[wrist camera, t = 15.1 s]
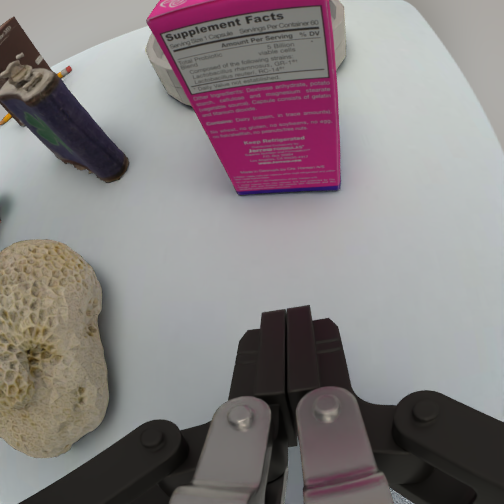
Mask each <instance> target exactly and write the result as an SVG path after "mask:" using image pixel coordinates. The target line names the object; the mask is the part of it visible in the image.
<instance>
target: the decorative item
mask: <svg viewBox="0 0 504 504" xmlns="http://www.w3.org/2000/svg"><path fill="white" fill-rule="evenodd" d="M101 306H102V289H101V286H100V283H99V281H98V280H97V277H96V274H95V272H94V270H93V268H92V267H91V266H90V265H89V264H88V263H87V262H86V261H85V260H84V259H83V258H82V256H80V255H79V254H78V253H76V252H74V251H73V250H72V249H71V248H69V247H68V246H67V245H66V244H63V243H61V242H57V241H53V240H47V239H45V240H39V239H36V240H25V241H20V242H17V243H14V244H12V245H10V246H9V247H7V248H5V249H4V250H2V251H1V252H0V437H1V438H3V439H4V440H5V441H6V442H7V443H8V444H9V445H10V446H12V447H13V448H14V449H16V450H18V451H21V452H23V453H25V454H27V455H28V456H31V457H34V458H52V457H57V456H59V455H60V454H62V453H66V452H67V451H69V450H70V449H71V446H72V444H73V443H75V442H77V441H78V440H79V439H80V438H81V437H82V436H84V435H86V434H87V433H88V432H91V431H93V430H95V429H96V428H97V427H98V426H99V425H100V424H101V422H102V420H103V419H104V417H105V413H106V409H107V406H108V401H109V391H108V382H107V366H106V362H105V358H104V351H103V346H102V343H101V339H100V334H99V329H98V324H97V320H98V315H99V313H100V312H101Z"/></svg>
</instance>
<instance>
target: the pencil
mask: <svg viewBox="0 0 504 504" xmlns="http://www.w3.org/2000/svg"><path fill="white" fill-rule="evenodd" d="M70 71H72V69H71V67H70V66H68V67H67V68H65V69H64V70H62V71H61V72H59V73H58V74H57V75H58V77H59V78H62V77H63V76H65V75H66V74H67V73H69V72H70ZM11 117H12V116H11V115H10V114H9V113H8V114H7V115H6V116H5V117H4V118H3V119H2V121H1V122H0V125H2V124H4V123H5V122H7V121H8V120H9V119H10V118H11Z"/></svg>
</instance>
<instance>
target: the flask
mask: <svg viewBox="0 0 504 504" xmlns="http://www.w3.org/2000/svg"><path fill="white" fill-rule="evenodd" d="M23 56H24V54H23V53H21V54H19V55H17V56H16V59H20V58H21V57H23ZM1 77H2V78H7V77H9V79H8V81H7V82H6V83H5V84H4V85H3V87H2V88H1V89H0V101H1V102H2V103H3V104H4V105H6V107H7V108H8V109H9V110H10V111H11V112H12V113H13V114H14V115H15V116H16V117H17V118H18V119H19V120H20V121H21V122H22V123H24V124H25V125H26V126H27V127H28V128H29V129H30V131H31V132H33V133H34V134H35V135H36V136H37V138H38V139H39V140H40V141H41V142H42V143H43V144H44V145H45V146H46V147H47V148H48V149H49V150H50V151H52V152H53V153H54V154H55V156H56V157H57V158H58V159H60V160H62V161H63V162H64V163H66V164H67V162H68V163H70V164H73V166H74V167H75V168H77V169H80V170H83V169H87V170H88V171H89V174H90V173H94V174H96V176H97V178H100V180H103V181H105V182H106V183H108V182H112V181H115V180H120V177H121V176H122V175H123V174H124V172H125V171H126V170H127V167H128V164H129V161H128V157H126V156H125V154H124V153H123V152H122V151H121V150H120V149H118V147H117V146H116V145H115V144H114V143H113V142H112V141H111V140H110V138H109V137H108V136H107V135H106V134H105V133H104V131H103V130H102V129H101V128H100V127H99V126H98V125H97V123H96V122H95V121H94V120H93V119H92V117H91V116H90V115H89V113H88V112H87V111H86V110H85V109H84V108H83V107H82V105H81V104H80V103H79V102H78V101H77V99H76V98H75V97H74V96H73V94H72V93H71V92H70V91H69V90H68V88H67V87H66V85H65V84H64V83H63V81H62V80H61V79H60V78H59V77H58V75H57V74H56V73H55V72H52V71H50V70H48V69H45V68H34V69H32V67H31V66H29V65H21V64H20V62H19V60H17V61H14V62H12V63H10V64H9V65H8V66H7V68H6V70H5V71H3V72H2V73H1V74H0V78H1Z"/></svg>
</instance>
